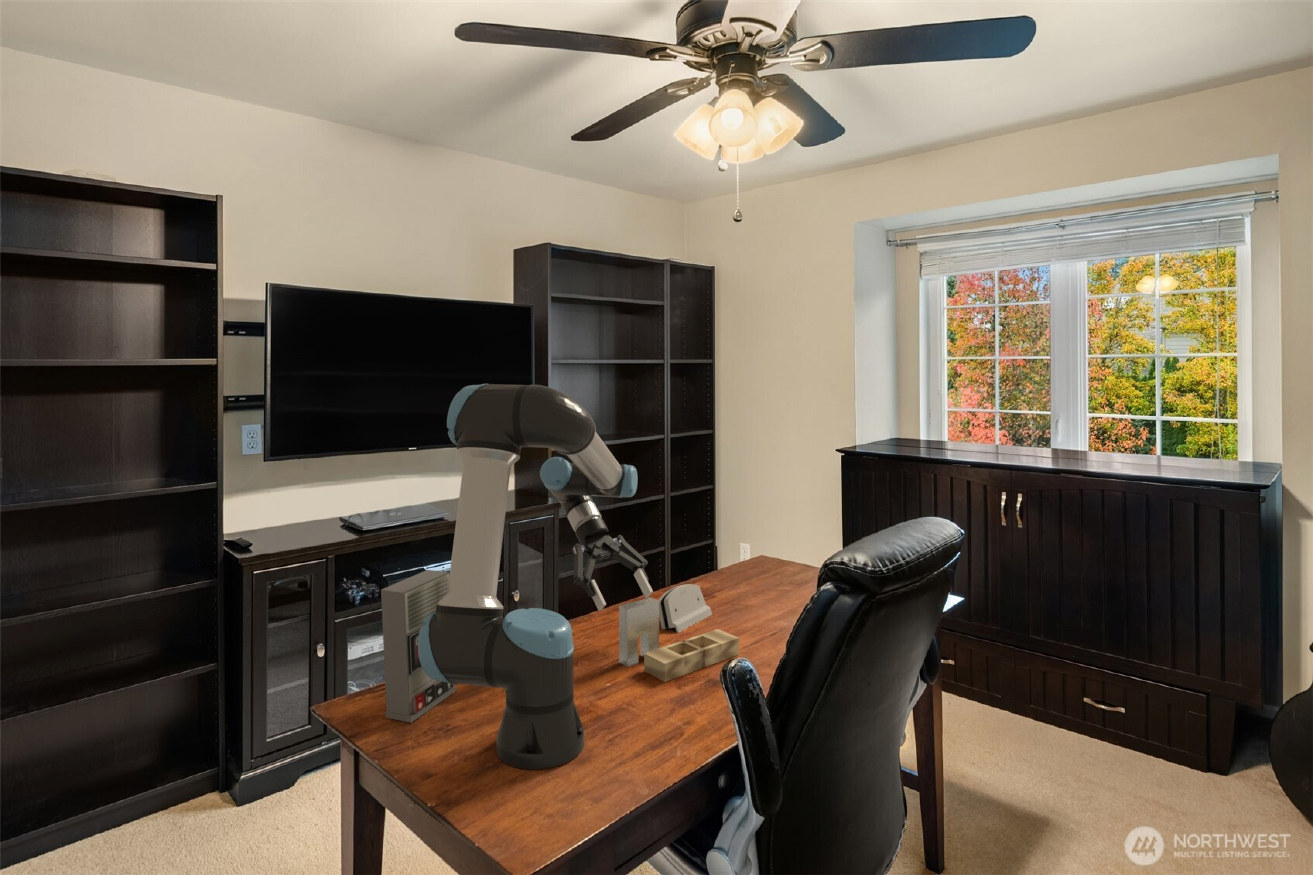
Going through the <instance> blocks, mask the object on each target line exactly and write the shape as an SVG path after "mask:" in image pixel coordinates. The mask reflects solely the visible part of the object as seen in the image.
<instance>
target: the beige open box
mask: <svg viewBox="0 0 1313 875" xmlns="http://www.w3.org/2000/svg"><path fill="white" fill-rule="evenodd" d="M739 653H740V637H738V636H736V635H733V634H731V633H728V632H726V631H724V630H721V629H719V628H716V629H713V630H711V631H707V632H704V633H701V634H699V635H698V634H697V635H695V636H692V637H688V638H686V639H683V640H681V641H677V642H673V643H672V644H668V645H665V646H662V647H659V648H658V649H655V650H652V651H649V652H646V653H644V657H643V659H644V660H643V661H644V662H643V664H644V665H643V670H644V671H643V672H645V673H647V674H649V675H651V676H653V677H655V678H656V679H659V680H661V681H662V682H664V683H666V682H668V681H672V680H674V679H677V678H679V677H682V676H685V675H688V674H691V673H693V672H695V671H698V670H701V669H704V668H706V667H709V666H712V665H715V664H717V663H720V662H723V661H726V660H728V659H731V658H733V657H736V656H739Z"/></svg>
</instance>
